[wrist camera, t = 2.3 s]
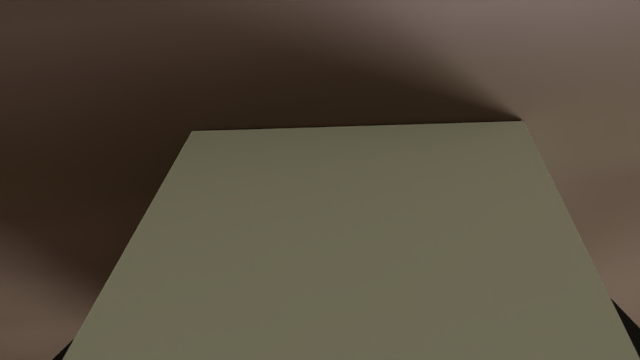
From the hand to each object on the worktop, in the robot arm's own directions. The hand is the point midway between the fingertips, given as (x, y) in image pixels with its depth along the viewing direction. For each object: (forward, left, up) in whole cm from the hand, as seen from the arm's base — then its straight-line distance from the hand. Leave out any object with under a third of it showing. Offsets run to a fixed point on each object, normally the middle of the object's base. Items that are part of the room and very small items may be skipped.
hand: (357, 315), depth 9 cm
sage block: (0, 0, -1) cm, 1 cm away
